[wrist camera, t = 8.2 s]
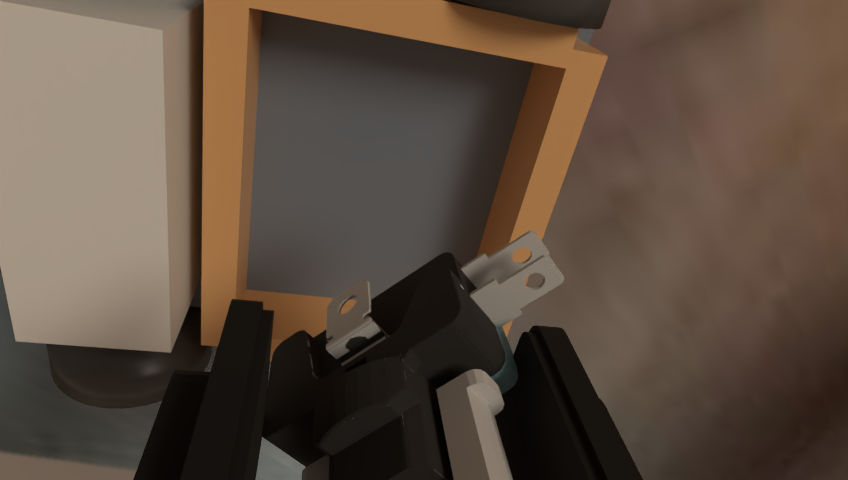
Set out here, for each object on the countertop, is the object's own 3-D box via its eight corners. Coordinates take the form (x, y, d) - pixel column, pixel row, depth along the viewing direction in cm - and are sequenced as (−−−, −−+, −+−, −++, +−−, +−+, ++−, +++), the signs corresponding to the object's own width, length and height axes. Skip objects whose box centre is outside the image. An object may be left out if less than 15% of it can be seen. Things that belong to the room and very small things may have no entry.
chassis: (595, -38, 17) (687, -14, 12) (474, 337, 24) (503, 440, 20) (8, -177, 14) (-165, -215, 9) (72, 302, 21) (-7, 415, 17)
